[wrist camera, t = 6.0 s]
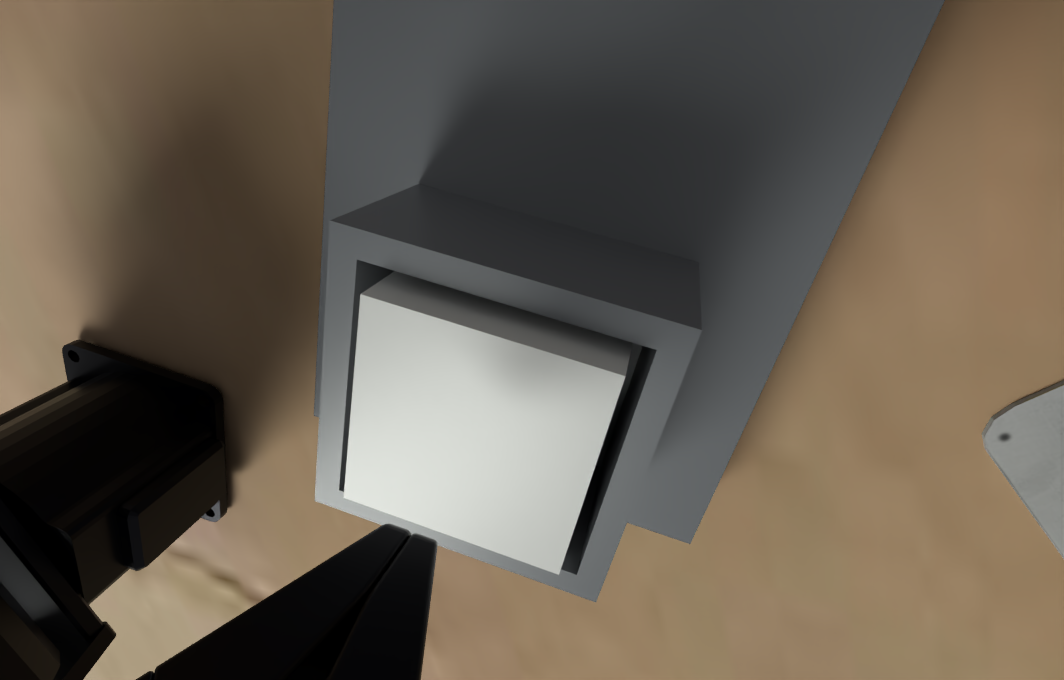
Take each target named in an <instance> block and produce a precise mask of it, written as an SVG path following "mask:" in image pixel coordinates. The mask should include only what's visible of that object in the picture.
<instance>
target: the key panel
mask: <svg viewBox="0 0 1064 680" xmlns="http://www.w3.org/2000/svg"><path fill="white" fill-rule="evenodd" d="M944 1H945V0H334V8H333V28H332V49H331V70H330V91H329V112H328V133H327V154H326V174H325V195H324V216H323V237H322V258H321V279H320V300H319V320H318V341H317V362H316V383H315V404H314V416H316V417H319V430H318V449H317V468H316V487H315V501H317V502H319V503H322V504H325V505H328V506H330V507H333V508H336V509H339V510H342V511H344V512H347V513H350V514H353V515H355V516H358V517H361V518H364V519H366V520H369V521H372V522H375V523H378V524H380V525H384V524H388V523H389V524H393V525H396V526H399V527H401V528H404V529H407V530H409V531H410V532H411V535H412V534H414V533H418V534H421V535H423V536H426V537H429V538H432V539H434V540H436V541H437V545H438V546H441V547H444V548H447V549H450V550H452V551H455V552H458V553H461V554H463V555H466V556H469V557H472V558H474V559H477V560H480V561H483V562H486V563H488V564H491V565H494V566H497V567H499V568H502V569H505V570H508V571H511V572H513V573H516V574H519V575H522V576H524V577H527V578H530V579H533V580H535V581H538V582H541V583H544V584H547V585H549V586H552V587H555V588H558V589H560V590H563V591H566V592H569V593H571V594H574V595H577V596H580V597H583V598H585V599H588V600H591V601H594V602H596V601H597V598H598V596H599V593H600V590H601V588H602V585H603V583H604V580H605V578H606V575H607V572H608V570H609V567H610V565H611V562H612V560H613V557H614V555H615V552H616V549H617V547H618V544H619V542H620V539H621V537H622V534H623V531H624V529H625V526H626V524H627V523H630V524H633V525H636V526H639V527H642V528H645V529H647V530H650V531H653V532H656V533H659V534H662V535H665V536H668V537H671V538H674V539H677V540H680V541H683V542H686V543H689V544H690V543H691V541H692V539H693V537H694V535H695V532H696V530H697V528H698V526H699V524H700V522H701V520H702V517H703V515H704V513H705V511H706V509H707V507H708V505H709V503H710V500H711V498H712V496H713V494H714V492H715V490H716V488H717V485H718V483H719V481H720V479H721V477H722V475H723V473H724V471H725V468H726V466H727V464H728V462H729V460H730V458H731V456H732V453H733V451H734V449H735V447H736V445H737V443H738V441H739V439H740V436H741V434H742V432H743V430H744V428H745V426H746V424H747V421H748V419H749V417H750V415H751V413H752V411H753V409H754V406H755V404H756V402H757V400H758V398H759V396H760V394H761V392H762V389H763V387H764V385H765V383H766V381H767V379H768V377H769V374H770V372H771V370H772V368H773V366H774V364H775V362H776V360H777V357H778V355H779V353H780V351H781V349H782V347H783V345H784V342H785V340H786V338H787V336H788V334H789V332H790V330H791V328H792V325H793V323H794V321H795V319H796V317H797V315H798V313H799V310H800V308H801V306H802V304H803V302H804V300H805V298H806V296H807V293H808V291H809V289H810V287H811V285H812V283H813V281H814V278H815V276H816V274H817V272H818V270H819V268H820V266H821V264H822V261H823V259H824V257H825V255H826V253H827V251H828V249H829V246H830V244H831V242H832V240H833V238H834V236H835V234H836V232H837V229H838V227H839V225H840V223H841V221H842V219H843V217H844V214H845V212H846V210H847V208H848V206H849V204H850V202H851V200H852V197H853V195H854V193H855V191H856V189H857V187H858V185H859V182H860V180H861V178H862V176H863V174H864V172H865V170H866V167H867V165H868V163H869V161H870V159H871V157H872V155H873V153H874V150H875V148H876V146H877V144H878V142H879V140H880V138H881V135H882V133H883V131H884V129H885V127H886V125H887V123H888V121H889V118H890V116H891V114H892V112H893V110H894V108H895V106H896V103H897V101H898V99H899V97H900V95H901V93H902V91H903V89H904V86H905V84H906V82H907V80H908V78H909V76H910V74H911V71H912V69H913V67H914V65H915V63H916V61H917V59H918V57H919V54H920V52H921V50H922V48H923V46H924V44H925V42H926V39H927V37H928V35H929V33H930V31H931V29H932V27H933V25H934V22H935V20H936V18H937V16H938V14H939V12H940V10H941V7H942V5H943V3H944ZM394 271H397V272H400V273H403V274H407V275H410V276H413V277H417V278H420V279H423V280H427V281H430V282H433V283H436V284H440V285H443V286H446V287H450V288H453V289H456V290H460V291H463V292H466V293H470V294H473V295H476V296H480V297H483V298H486V299H489V300H493V301H496V302H499V303H503V304H506V305H509V306H513V307H516V308H519V309H523V310H526V311H529V312H533V313H536V314H539V315H542V316H546V317H549V318H552V319H556V320H559V321H562V322H566V323H569V324H572V325H576V326H579V327H582V328H586V329H589V330H592V331H595V332H599V333H602V334H605V335H609V336H612V337H615V338H619V339H622V340H625V341H629V342H632V348H631V353H630V358H629V362H628V367H627V372H626V377H625V380H624V382H623V385H622V388H621V391H620V394H619V397H618V400H617V403H616V406H615V409H614V412H613V415H612V418H611V421H610V424H609V427H608V430H607V433H606V436H605V439H604V442H603V445H602V448H601V451H600V454H599V457H598V460H597V463H596V466H595V469H594V472H593V475H592V478H591V481H590V484H589V487H588V490H587V493H586V496H585V499H584V502H583V505H582V508H581V511H580V514H579V517H578V520H577V522H576V525H575V528H574V531H573V534H572V537H571V540H570V543H569V546H568V549H567V552H566V555H565V558H564V561H563V564H562V567H561V570H560V573H559V575H558V574H555V573H552V572H549V571H547V570H544V569H541V568H538V567H535V566H533V565H530V564H527V563H524V562H522V561H519V560H516V559H513V558H510V557H508V556H505V555H502V554H499V553H496V552H494V551H491V550H488V549H485V548H482V547H480V546H477V545H474V544H471V543H468V542H466V541H463V540H460V539H457V538H454V537H452V536H449V535H446V534H443V533H440V532H438V531H435V530H432V529H429V528H427V527H424V526H421V525H418V524H415V523H413V522H410V521H407V520H404V519H401V518H399V517H396V516H393V515H390V514H387V513H385V512H382V511H379V510H376V509H373V508H371V507H368V506H365V505H362V504H359V503H357V502H354V501H351V500H348V499H345V498H344V486H345V474H346V462H347V450H348V438H349V426H350V414H351V402H352V390H353V378H354V366H355V354H356V342H357V330H358V318H359V306H360V294H361V293H363V292H364V291H366V290H367V289H369V288H370V287H372V286H373V285H375V284H376V283H378V282H379V281H381V280H382V279H384V278H385V277H387V276H388V275H390V274H391V273H393V272H394Z"/></svg>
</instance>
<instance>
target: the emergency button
mask: <svg viewBox="0 0 1064 680" xmlns="http://www.w3.org/2000/svg"><path fill="white" fill-rule="evenodd" d="M982 438H983V443H984V447H985V450H986V451H987V453H988V454H989V455H990V457H991V458H992V460H993V461H994V462H995V464H996V465H997V467H998V468H999V469H1000V471H1001V472H1002V473H1003V475H1004V476H1005V478H1006V479H1007V480H1008V482H1009V483H1010V485H1011V486H1012V487H1013V489H1014V490H1015V492H1016V493H1017V494H1018V496H1019V497H1020V499H1021V500H1022V501H1023V503H1024V504H1025V506H1026V507H1027V508H1028V510H1029V511H1030V513H1031V514H1032V515H1033V517H1034V518H1035V520H1036V521H1037V522H1038V524H1039V525H1040V526H1041V528H1042V529H1043V531H1044V532H1045V533H1046V535H1047V536H1048V538H1049V539H1050V540H1051V542H1052V543H1053V545H1054V546H1055V547H1056V549H1057V550H1058V552H1059V553H1060V554H1061V556H1062V557H1063V559H1064V380H1063V381H1061V382H1059V383H1057V384H1054V385H1052V386H1050V387H1048V388H1045V389H1043V390H1041V391H1038V392H1036V393H1034V394H1032V395H1029V396H1027V397H1025V398H1023V399H1020V400H1018V401H1016V402H1014V403H1011V404H1010V405H1008V406H1007V407H1005V408H1004V409H1002V410H1001V411H999V412H998V413H996V414H995V415H993V416H992V417H991V418H990V420H989V422H988V423H987V425H986V427H985V428H984V430H983V432H982Z"/></svg>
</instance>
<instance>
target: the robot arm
mask: <svg viewBox="0 0 1064 680" xmlns="http://www.w3.org/2000/svg"><path fill="white" fill-rule="evenodd" d="M62 353H63V358H64V364H65V369H66V375H67V380H68V382H66V383H64V384H62V385H60V386H58V387H56V388H54V389H52V390H50V391H48V392H46V393H44V394H42V395H40V396H38V397H36V398H34V399H32V400H29V401H27V402H25V403H23V404H21V405H19V406H17V407H15V408H13V409H11V410H9V411H7V412H5V413H3V414H1V415H0V680H83V679H84V678H85V676H86V675H87V674H88V672H89V671H90V670H91V668H92V667H93V666H94V664H95V663H96V662H97V660H98V659H99V658H100V657H101V655H102V654H103V653H104V651H105V650H106V649H107V647H108V646H109V645H110V643H111V642H112V641H113V639H114V638H115V636H116V633H115V632H114V630H113V629H112V628H111V627H110V625H109V624H108V623H107V622H102V621H101V620H100V619H99V617H98V616H97V615H96V614H95V612H94V611H93V610H92V609H91V607H90V606H89V604H90V603H91V602H93V601H94V600H95V599H96V598H97V597H98V596H99V595H100V594H102V593H103V592H104V591H105V590H106V589H107V588H108V587H110V586H111V585H112V584H113V583H114V582H115V581H116V580H117V579H119V578H120V577H121V576H122V575H123V574H124V573H125V572H126V571H128V570H129V569H133V570H135V571H139V570H141V569H143V568H145V567H147V566H148V565H149V564H150V563H151V562H152V561H153V560H155V559H156V558H157V557H158V556H159V555H160V554H161V553H162V552H163V551H164V550H166V549H167V548H168V547H169V546H170V545H171V544H172V543H173V542H174V541H175V540H177V539H178V538H179V537H180V536H181V535H182V534H183V533H184V532H185V531H186V530H188V529H189V528H190V527H191V526H192V525H193V524H194V523H195V522H196V521H197V520H199V519H200V518H203V519H206V520H208V521H212V522H216V521H218V520H219V519H220V518H221V517H223V516H224V515H225V514H226V513H227V492H226V467H225V441H224V416H223V398H222V395H221V393H220V392H219V390H218V389H217V388H216V387H214V386H212V385H210V384H208V383H205V382H202V381H199V380H196V379H193V378H190V377H187V376H184V375H181V374H178V373H175V372H172V371H170V370H167V369H164V368H161V367H158V366H155V365H152V364H149V363H146V362H143V361H140V360H137V359H134V358H132V357H129V356H126V355H123V354H120V353H117V352H114V351H111V350H108V349H105V348H102V347H99V346H96V345H94V344H91V343H88V342H85V341H82V340H76V341H73V342H71V343H69V344H66V345H64V347H63V348H62ZM436 553H437V541H436V540H434V539H432V538H429V537H426V536H423V535H421V534H418V533H414V534H412V535H411V532H410V531H409V530H407V529H404V528H401V527H399V526H396V525H393V524H389V523H388V524H384V525H382V526H380V527H379V528H377V529H376V530H374V531H372V532H371V533H369V534H368V535H366V536H364V537H363V538H361V539H360V540H358V541H356V542H355V543H353V544H352V545H350V546H349V547H347V548H345V549H344V550H342V551H341V552H339V553H337V554H336V555H334V556H333V557H331V558H329V559H328V560H326V561H325V562H323V563H321V564H320V565H318V566H317V567H315V568H313V569H312V570H310V571H309V572H307V573H305V574H304V575H302V576H301V577H299V578H298V579H296V580H294V581H293V582H291V583H290V584H288V585H286V586H285V587H283V588H282V589H280V590H278V591H277V592H275V593H274V594H272V595H270V596H269V597H267V598H266V599H264V600H262V601H261V602H259V603H258V604H256V605H254V606H253V607H251V608H250V609H248V610H247V611H245V612H243V613H242V614H240V615H239V616H237V617H235V618H234V619H232V620H231V621H229V622H227V623H226V624H224V625H223V626H221V627H219V628H218V629H216V630H215V631H213V632H211V633H210V634H208V635H207V636H205V637H203V638H202V639H200V640H199V641H197V642H196V643H194V644H192V645H191V646H189V647H188V648H186V649H184V650H183V651H181V652H180V653H178V654H176V655H175V656H173V657H172V658H170V659H168V660H167V661H165V662H164V663H162V664H160V665H159V666H157V667H156V669H155V672H153V671H149V672H147V673H146V674H144V675H142V676H141V677H139V678H138V679H136V680H421V672H422V664H423V657H424V649H425V641H426V633H427V625H428V617H429V609H430V601H431V593H432V585H433V577H434V569H435V561H436Z"/></svg>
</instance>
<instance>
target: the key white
mask: <svg viewBox="0 0 1064 680" xmlns="http://www.w3.org/2000/svg"><path fill="white" fill-rule="evenodd" d="M631 348H632V342H629V341H625V340H622V339H619V338H615V337H612V336H609V335H605V334H602V333H599V332H595V331H592V330H589V329H586V328H582V327H579V326H576V325H572V324H569V323H566V322H562V321H559V320H556V319H552V318H549V317H546V316H542V315H539V314H536V313H533V312H529V311H526V310H523V309H519V308H516V307H513V306H509V305H506V304H503V303H499V302H496V301H493V300H489V299H486V298H483V297H480V296H476V295H473V294H470V293H466V292H463V291H460V290H456V289H453V288H450V287H446V286H443V285H440V284H436V283H433V282H430V281H427V280H423V279H420V278H417V277H413V276H410V275H407V274H403V273H400V272H397V271H394V272H393V273H391V274H390V275H388V276H387V277H385V278H384V279H382V280H381V281H379V282H378V283H376V284H375V285H373V286H372V287H370V288H369V289H367V290H366V291H364V292H363V293H361V294H360V306H359V318H358V330H357V342H356V354H355V366H354V378H353V390H352V402H351V414H350V426H349V438H348V450H347V462H346V474H345V486H344V498H345V499H348V500H351V501H354V502H357V503H359V504H362V505H365V506H368V507H371V508H373V509H376V510H379V511H382V512H385V513H387V514H390V515H393V516H396V517H399V518H401V519H404V520H407V521H410V522H413V523H415V524H418V525H421V526H424V527H427V528H429V529H432V530H435V531H438V532H440V533H443V534H446V535H449V536H452V537H454V538H457V539H460V540H463V541H466V542H468V543H471V544H474V545H477V546H480V547H482V548H485V549H488V550H491V551H494V552H496V553H499V554H502V555H505V556H508V557H510V558H513V559H516V560H519V561H522V562H524V563H527V564H530V565H533V566H535V567H538V568H541V569H544V570H547V571H549V572H552V573H555V574H558V575H559V573H560V570H561V567H562V564H563V561H564V558H565V555H566V552H567V549H568V546H569V543H570V540H571V537H572V534H573V531H574V528H575V525H576V522H577V520H578V517H579V514H580V511H581V508H582V505H583V502H584V499H585V496H586V493H587V490H588V487H589V484H590V481H591V478H592V475H593V472H594V469H595V466H596V463H597V460H598V457H599V454H600V451H601V448H602V445H603V442H604V439H605V436H606V433H607V430H608V427H609V424H610V421H611V418H612V415H613V412H614V409H615V406H616V403H617V400H618V397H619V394H620V391H621V388H622V385H623V382H624V380H625V377H626V372H627V367H628V362H629V358H630V353H631Z"/></svg>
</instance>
